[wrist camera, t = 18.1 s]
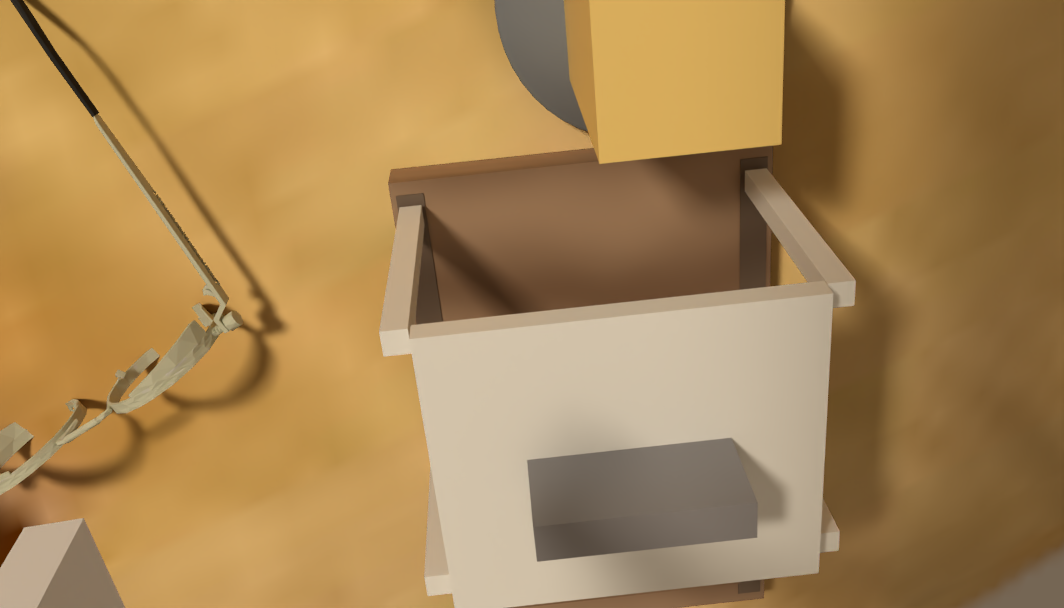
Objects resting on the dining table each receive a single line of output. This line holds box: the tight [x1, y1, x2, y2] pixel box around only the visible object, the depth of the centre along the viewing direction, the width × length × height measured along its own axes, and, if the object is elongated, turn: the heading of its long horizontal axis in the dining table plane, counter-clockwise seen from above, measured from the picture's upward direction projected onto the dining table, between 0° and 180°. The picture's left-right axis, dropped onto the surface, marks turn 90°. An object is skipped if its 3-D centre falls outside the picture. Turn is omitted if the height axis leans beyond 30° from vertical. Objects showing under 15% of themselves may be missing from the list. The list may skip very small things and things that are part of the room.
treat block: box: [564, 0, 785, 164], centre depth 30 cm, size 5×5×9 cm
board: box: [388, 146, 773, 608], centre depth 41 cm, size 22×14×3 cm, turn 5°
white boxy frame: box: [379, 168, 856, 608], centre depth 33 cm, size 10×13×13 cm
